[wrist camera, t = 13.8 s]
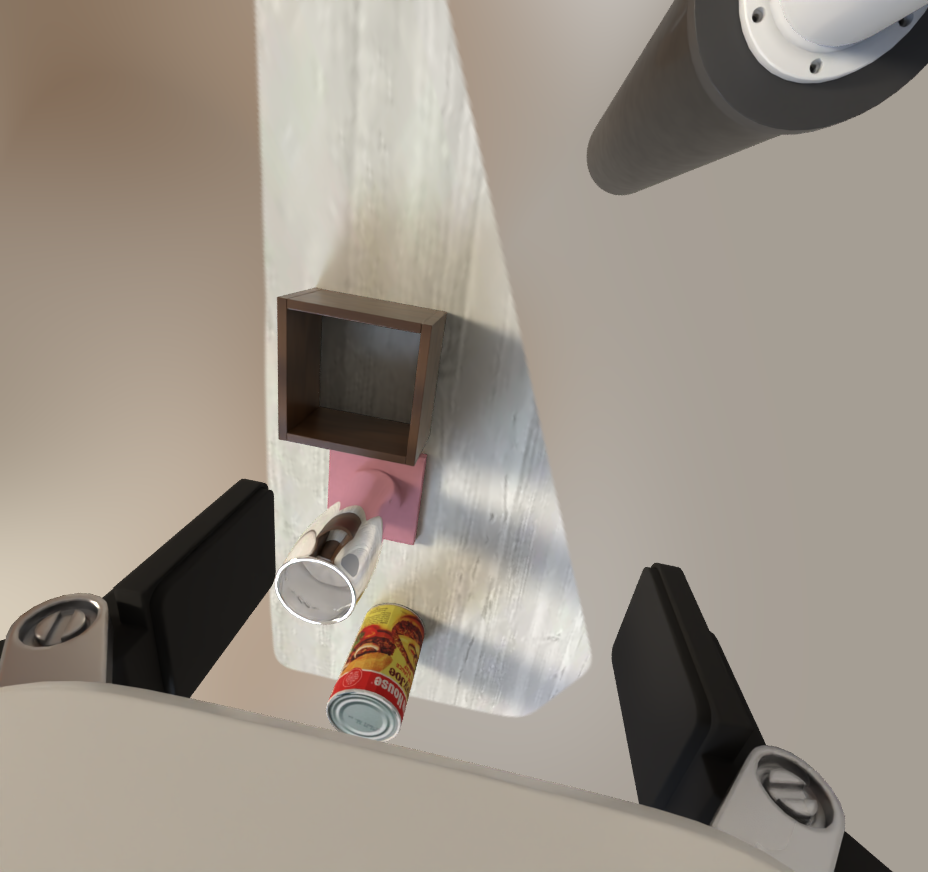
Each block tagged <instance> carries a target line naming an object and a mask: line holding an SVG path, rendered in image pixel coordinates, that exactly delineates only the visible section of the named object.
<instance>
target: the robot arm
mask: <svg viewBox="0 0 928 872" xmlns="http://www.w3.org/2000/svg"><path fill="white" fill-rule="evenodd" d="M927 8H928V0H739V16H740V21H741V27H742V32H743V34H744V37H745V39H746V42H747V44H748V47H749V49H750V50H751V52H752V53H753V55H754V56H755V58H756V59H757V60H758V62H759V63H760V64H761V65H762V66H764V67H765V68H766V69H767V70H768V71H769V72H771V73H772V74H774V75H776V76H778V77H780V78H782V79H784V80H788V81H793V82H797V83H822V82H826V81H831V80H835V79H838V78H841V77H843V76H846V75H848V74H850V73H853V72H855V71H857V70H859V69H861V68H863V67H865V66H866V65H868V64H870V63H872V62H874V61H875V60H876V59H878V58H879V57H881V56H882V55H883V54H885V53H886V52H887V51H889V50H890V49H892V48H893V47H894V46H895V45H896V44H897V43H898V42H899V41H900V40H901V39H902V38H903V37H904V36H905V35H906V34H907V33H908V32H909V31H910V30H911V29H912V28H913V26H914V25H915V24H916V23H917V21H918V20H919V19H920V18H921V16H922V15H923V14H924V13H925V11H926V10H927ZM752 16H755V17H756V18H757V21H756V23H755V22H753V20H752ZM898 21H899V22H900V25H899V23H898ZM810 66H811V67H812V68H813V71H812V73H811V72H810ZM275 573H276V568H275V525H274V494H273V491H272V490H268V486H267V484H266V483H262V482H258V481H253V480H248V479H241V480H239V481H238V482H237V483H236V484H235V485H233V486H232V487H231V488H230V489H229V490H228V491H226V492H225V493H224V494H223V495H222V496H220V497H219V498H218V499H217V500H216V501H215V502H213V503H212V504H211V505H210V506H209V507H208V508H206V509H205V510H204V511H203V512H202V513H201V514H199V515H198V516H197V517H196V518H195V519H193V520H192V521H191V522H190V523H189V524H188V525H186V526H185V527H184V528H183V529H182V530H181V531H179V532H178V533H177V534H176V535H175V536H173V537H172V538H171V539H170V540H169V541H168V542H166V543H165V544H164V545H163V546H162V547H160V548H159V549H158V550H157V551H156V552H155V553H154V554H152V555H151V556H150V557H149V558H148V559H146V560H145V561H144V562H143V563H142V564H140V565H139V566H138V567H137V568H136V569H135V570H133V571H132V572H131V573H130V574H129V575H128V576H126V577H125V578H124V579H123V580H122V581H120V582H119V583H118V584H117V585H116V586H115V587H114V588H113V589H112V590H111V591H110V592H109V593H108V594H106V595H105V596H104V597H103V598H101V597H100V596H96V595H93V594H86V593H76V594H69V595H63V596H60V597H57V598H54V599H50V600H47V601H45V602H43V603H41V604H39V605H37V606H35V607H33V608H31V609H30V610H29V611H27V612H26V613H24V614H23V615H21V616H20V617H19V618H18V619H17V620H16V621H15V622H14V623H13V624H12V626H11V627H10V629H9V631H8V633H7V636H6V639H5V640H1V641H0V872H892V871H891V870H890V869H889V868H887V867H886V866H885V865H884V864H883V863H882V862H880V861H879V860H878V859H877V858H876V857H875V856H873V855H872V854H871V853H870V852H869V851H867V850H866V849H865V848H864V847H863V846H862V845H861V844H859V843H858V842H857V841H856V840H855V839H854V838H852V837H851V836H850V835H849V834H848V833H846V832H845V831H844V830H845V815H844V812H843V810H842V807H841V804H840V802H839V800H838V799H837V797H836V795H835V793H834V792H833V790H832V788H831V787H830V786H829V785H828V783H827V782H826V781H825V780H824V779H823V778H822V777H821V775H820V774H819V773H818V772H817V771H815V770H814V769H813V768H812V767H811V766H810V765H809V764H807V763H806V762H805V761H804V760H802V759H800V758H799V757H797V756H795V755H794V754H792V753H791V752H788V751H786V750H784V749H781V748H779V747H774V746H768V745H766V744H765V742H764V739H763V737H762V735H761V733H760V731H759V729H758V727H757V724H756V722H755V720H754V718H753V716H752V713H751V711H750V709H749V707H748V705H747V703H746V700H745V699H744V696H743V694H742V692H741V690H740V687H739V685H738V683H737V681H736V679H735V677H734V675H733V672H732V670H731V668H730V666H729V664H728V661H727V659H726V657H725V655H724V653H723V650H722V648H721V646H720V644H719V642H718V640H717V638H716V637H715V635H714V634H713V633H711V632H710V631H709V629H708V626H707V624H706V622H705V620H704V618H703V616H702V613H701V611H700V609H699V607H698V605H697V602H696V600H695V598H694V595H693V593H692V591H691V589H690V587H689V585H688V582H687V580H686V578H685V575H684V573H683V571H682V570H681V568H679V567H675V566H670V565H665V564H660V563H654V564H653V565H652V566H651V568H649V567H645V568H644V569H643V571H642V574H641V576H640V579H639V581H638V584H637V586H636V589H635V592H634V594H633V597H632V599H631V602H630V604H629V607H628V609H627V612H626V614H625V617H624V619H623V622H622V624H621V627H620V629H619V632H618V634H617V637H616V640H615V642H614V645H613V648H612V664H613V669H614V675H615V680H616V685H617V691H618V696H619V701H620V706H621V711H622V716H623V721H624V727H625V732H626V738H627V743H628V748H629V753H630V758H631V764H632V769H633V774H634V779H635V785H636V790H637V795H638V800H639V804H636V803H633V802H629V801H625V800H621V799H617V798H613V797H610V796H606V795H602V794H598V793H594V792H590V791H586V790H583V789H578V788H574V787H570V786H566V785H562V784H558V783H554V782H549V781H545V780H541V779H537V778H532V777H529V776H524V775H520V774H516V773H512V772H508V771H504V770H499V769H495V768H491V767H487V766H483V765H479V764H474V763H470V762H465V761H462V760H458V759H453V758H449V757H445V756H441V755H436V754H432V753H427V752H423V751H419V750H415V749H410V748H406V747H402V746H398V745H394V744H389V743H385V742H381V741H376V740H372V739H368V738H364V737H359V736H355V735H351V734H346V733H342V732H338V731H333V730H329V729H325V728H320V727H316V726H312V725H307V724H303V723H298V722H294V721H290V720H285V719H281V718H276V717H272V716H268V715H263V714H259V713H254V712H250V711H245V710H241V709H237V708H232V707H228V706H224V705H219V704H215V703H210V702H205V701H200V700H196V699H191V698H190V697H191V695H192V694H193V693H194V691H195V690H196V689H197V687H198V686H199V685H200V683H201V682H202V680H203V679H204V678H205V676H206V675H207V674H208V672H209V671H210V670H211V668H212V667H213V665H214V664H215V663H216V661H217V660H218V659H219V657H220V656H221V655H222V653H223V652H224V650H225V649H226V648H227V646H228V645H229V644H230V642H231V641H232V640H233V638H234V637H235V635H236V634H237V633H238V631H239V630H240V629H241V627H242V626H243V625H244V623H245V622H246V620H247V619H248V617H249V616H250V615H251V614H252V612H253V611H254V610H255V608H256V607H257V605H258V604H259V602H260V601H261V600H262V599H263V597H264V596H265V594H266V593H267V592H268V590H269V589H270V588H271V586H272V584H273V582H274V579H275Z"/></svg>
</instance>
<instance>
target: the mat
mask: <svg viewBox="0 0 928 872" xmlns="http://www.w3.org/2000/svg"><path fill="white" fill-rule="evenodd" d="M426 460H427V454H422V453H421V454H420V456H419V458H418V460H417V462H416V464H415V466H409V465H406V464H405V465H404V464H399V463H394V462H389V461H384V460H379V459H374V458H369V457H364V456H359V455H354V454H349V453H344V452H339V451H335V450H330V460H329V484H328V508H329V507H331V506H332V505H333V504H335V503H336V502H337V501H338V500H339V499H340V498H341V496H342V495H343V492H344V489H345V486H346V484H347V482H348V480H349V479H350V477H351V476H352V475H354V474H355V473H357V472H358V471H361V470H365V469H374V470H379V471H382V472H384V473H386V474H388V475H389V476H390V477H392V478H393V479H394V480H395V482H396V483H397V484H398V486H399V488H400V491H401V504H400V507H399V509H398V511H397V512H396V513H395V514H394V515H393V516H392V518H391V519H390V520H389V521H388V523H387V525H386V529H385V534H384V539H386V540H391V541H396V542H400V543H405V544H410V545H414V542H415V539H416V532H417V524H418V517H419V510H420V503H421V496H422V488H423V481H424V474H425V467H426Z"/></svg>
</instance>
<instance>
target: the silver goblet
mask: <svg viewBox="0 0 928 872" xmlns="http://www.w3.org/2000/svg"><path fill="white" fill-rule="evenodd" d="M400 504H401V491H400V488H399V486H398V484H397V483H396V482H395V480H394V479H393V478H392V477H390V476H389V475H388V474H386V473H384V472H382V471H379V470H374V469H365V470H361V471H358V472H357V473H355V474H354V475H352V476H351V477H350V479H349V480H348V482H347V484H346V486H345V489H344V492H343V495H342V496H341V498H340V499H339V500H338V501H337V502H336V503H335V504H333V505H332V506H331V507H329V508H328V509H327V510H326V511H325V512H323V513H322V514H321V515H320V516H319V517H318V518H317V519H315V520H314V521H313V522H312V523H311V524H310V525H309V526H308V528H307V529H306V530H305V531H304V532H303V534H302V535H301V536H300V538H299V539H298V540H297V542H296V543H295V545H294V546H293V548H292V550H291V551H290V553H289V554H288V556H287V558H286V559H285V561H284V563H283V565H282V566H281V567H280V569H279V570H278V572H277V574H276V577H275V589H276V593H277V595H278V597H279V599H280V601H281V602H282V604H283V605H284V606H285V607H286V608H287V609H288V610H289V611H290V612H291V613H293V614H294V615H296V616H297V617H299V618H301V619H303V620H305V621H308V622H311V623H315V624H323V625H327V624H335V623H338V622H341V621H343V620H345V619H346V618H347V617H349V616H350V615H351V613H352V612H353V610H354V609H355V606H356V604H357V603H358V601H359V599H360V598H361V596H362V594H363V593H364V591H365V589H366V587H367V586H368V584H369V582H370V580H371V578H372V576H373V574H374V571H375V569H376V566H377V564H378V561H379V557H380V553H381V549H382V544H383V539H384V534H385V529H386V525H387V523H388V521H389V520H390V519H391V518H392V516H393V515H394V514H395V513H396V512H397V511H398V509H399V507H400Z"/></svg>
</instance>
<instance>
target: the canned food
mask: <svg viewBox="0 0 928 872" xmlns="http://www.w3.org/2000/svg"><path fill="white" fill-rule="evenodd" d="M424 635H425V628H424V625H423V622H422V620H421V619H420V618H419V617H418V615H417V614H415V613H414V612H413V611H412V610H410V609H408V608H406V607H404V606H401V605H398V604H390V603H386V604H380V605H377V606H375V607H373V608H371V609H370V610H369V611H368V612H367V614H366V615H365V617H364V619H363V622H362V624H361V626H360V629H359V631H358V633H357V636H356V638H355V640H354V643H353V645H352V647H351V649H350V652H349V654H348V656H347V659H346V661H345V663H344V666H343V668H342V670H341V673H340V675H339V677H338V680H337V682H336V685H335V687H334V689H333V691H332V694H331V696H330V698H329V701H328V703H327V708H326V713H327V718H328V719H329V721H330V723H331V725H332V726H333V727H334V728H335V729H336V730H337V731H338V732H342V733H346V734H351V735H355V736H359V737H364V738H368V739H372V740H376V741H381V742H387V741H389V740H391V739H393V738H394V737H395V736H396V735H397V734H398V733H399V731H400V727H401V724H402V720H403V716H404V712H405V708H406V705H407V701H408V697H409V693H410V689H411V685H412V682H413V678H414V674H415V670H416V666H417V662H418V659H419V655H420V651H421V647H422V643H423V639H424Z"/></svg>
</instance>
